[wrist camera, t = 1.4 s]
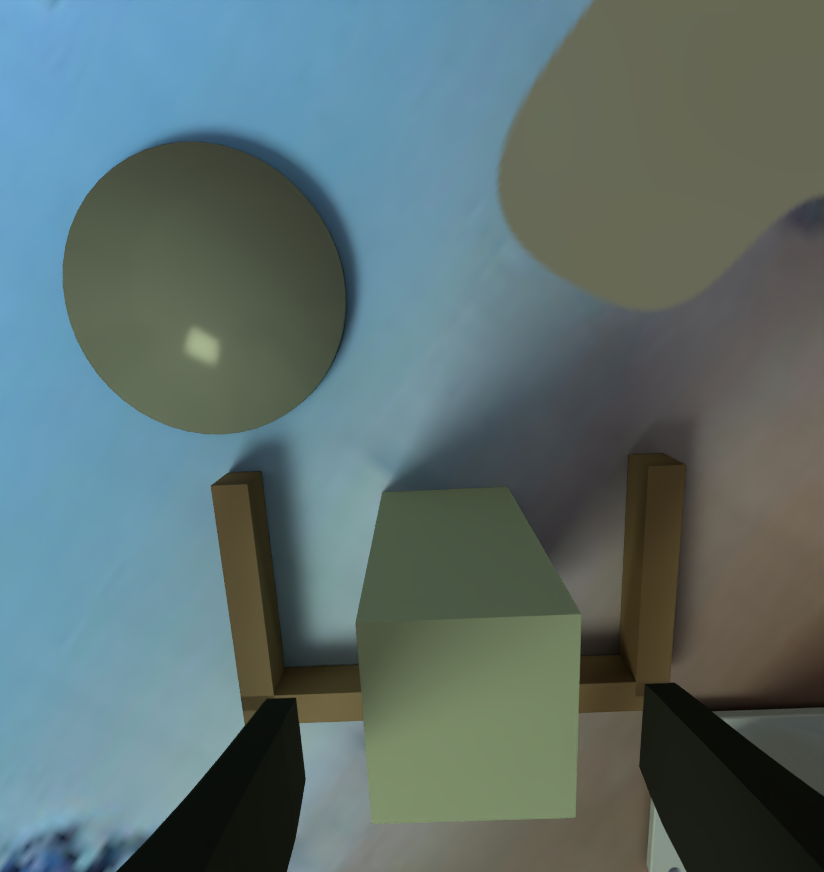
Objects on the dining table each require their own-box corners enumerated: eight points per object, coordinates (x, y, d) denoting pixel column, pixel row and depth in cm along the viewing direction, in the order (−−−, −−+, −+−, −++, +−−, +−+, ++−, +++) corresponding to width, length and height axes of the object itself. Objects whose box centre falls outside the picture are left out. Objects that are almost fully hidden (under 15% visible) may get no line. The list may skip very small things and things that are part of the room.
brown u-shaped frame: (663, 453, 17) (685, 464, 16) (648, 680, 19) (667, 709, 18) (227, 472, 17) (210, 485, 16) (257, 694, 19) (244, 724, 18)
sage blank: (507, 486, 18) (581, 614, 10) (508, 611, 19) (575, 818, 11) (382, 492, 18) (355, 622, 10) (390, 616, 19) (371, 823, 11)
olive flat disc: (335, 139, 15) (332, 133, 15) (356, 425, 17) (354, 428, 16) (47, 155, 15) (35, 149, 15) (100, 437, 17) (91, 440, 17)
